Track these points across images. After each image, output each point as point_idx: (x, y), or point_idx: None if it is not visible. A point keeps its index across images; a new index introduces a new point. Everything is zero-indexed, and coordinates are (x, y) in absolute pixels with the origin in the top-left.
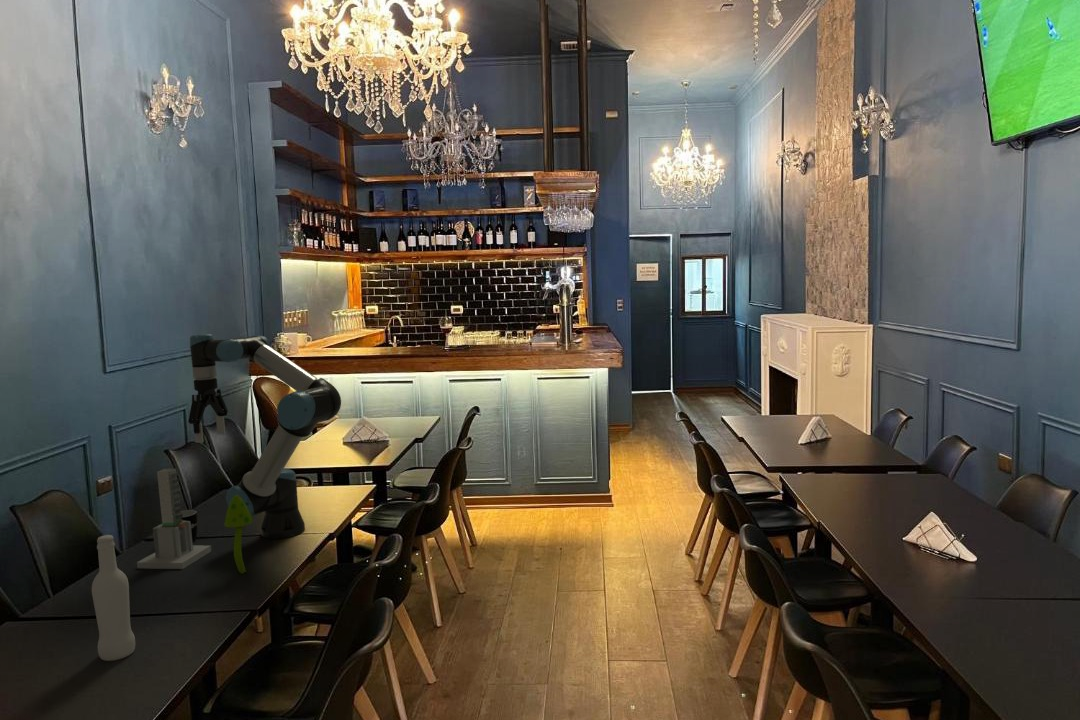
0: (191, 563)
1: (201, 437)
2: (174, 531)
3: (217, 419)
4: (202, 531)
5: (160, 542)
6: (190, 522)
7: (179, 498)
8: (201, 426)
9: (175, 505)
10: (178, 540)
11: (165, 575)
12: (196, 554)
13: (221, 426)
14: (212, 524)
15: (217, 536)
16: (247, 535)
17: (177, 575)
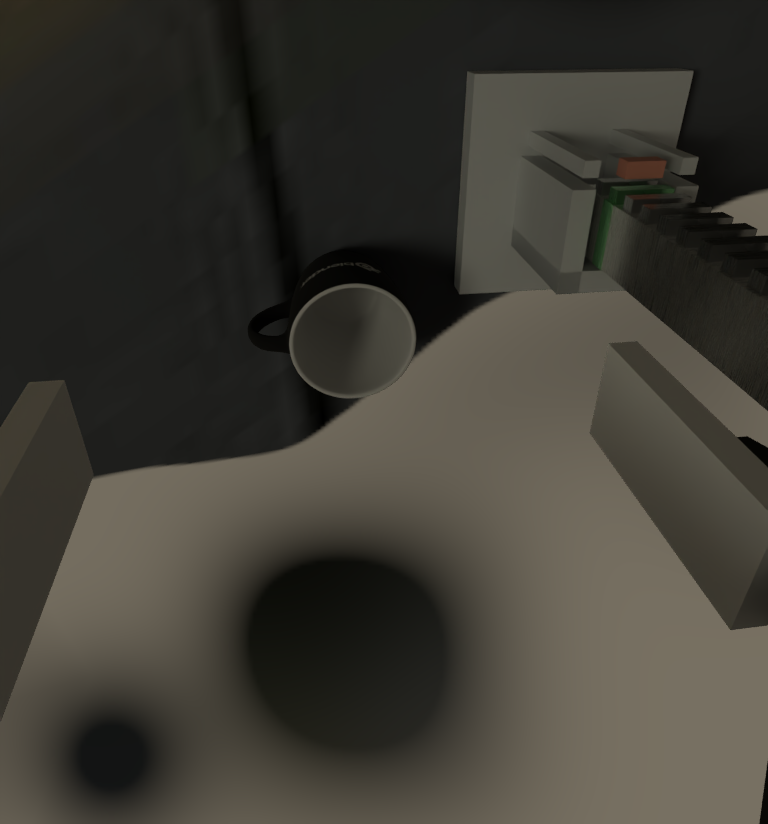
0: (619, 69)
1: (671, 382)
2: (665, 181)
3: (11, 646)
4: (207, 300)
5: None
6: (377, 275)
7: (693, 227)
8: (763, 481)
9: (719, 215)
10: (662, 144)
11: (736, 102)
12: (589, 72)
13: (37, 490)
14: (106, 317)
15: (262, 179)
16: (224, 3)
17: (751, 41)
